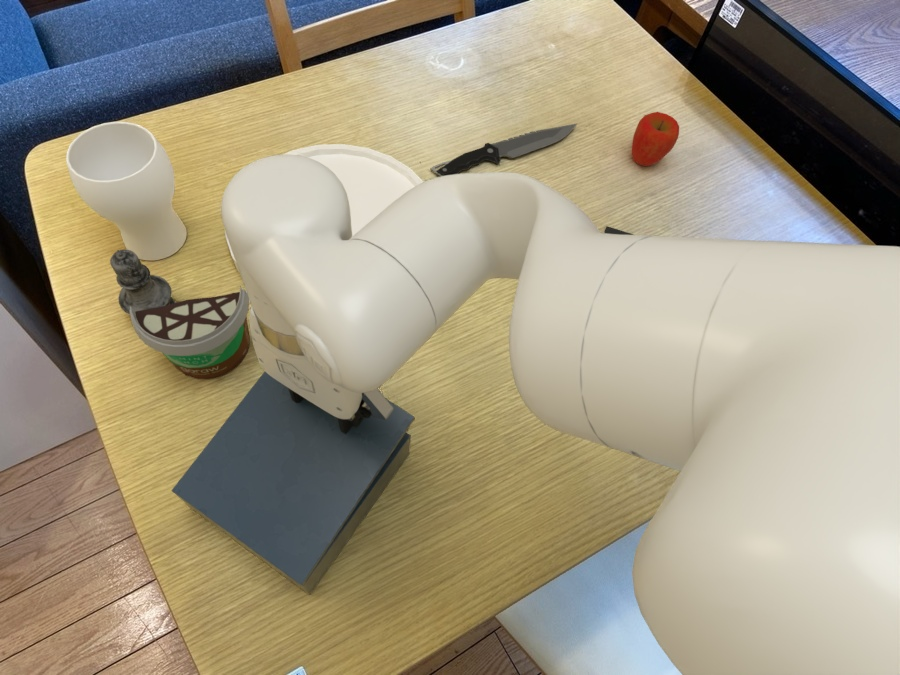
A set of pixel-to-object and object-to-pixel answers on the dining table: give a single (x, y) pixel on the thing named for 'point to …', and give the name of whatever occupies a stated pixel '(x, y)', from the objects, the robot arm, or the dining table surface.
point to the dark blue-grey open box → (352, 522)
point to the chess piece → (139, 283)
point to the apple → (654, 138)
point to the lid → (288, 474)
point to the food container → (198, 333)
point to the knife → (504, 149)
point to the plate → (362, 179)
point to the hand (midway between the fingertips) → (328, 405)
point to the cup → (128, 186)
